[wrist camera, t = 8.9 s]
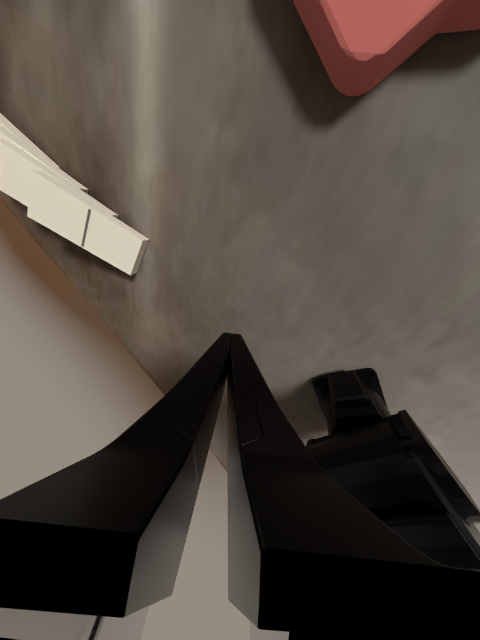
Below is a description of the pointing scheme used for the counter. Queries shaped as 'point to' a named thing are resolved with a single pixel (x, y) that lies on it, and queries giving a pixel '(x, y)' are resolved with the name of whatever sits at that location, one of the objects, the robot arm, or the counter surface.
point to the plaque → (378, 34)
